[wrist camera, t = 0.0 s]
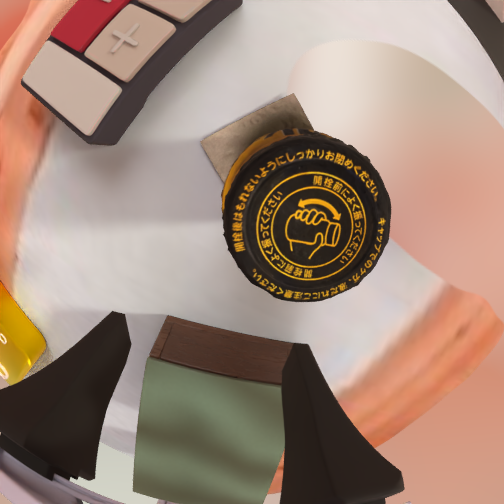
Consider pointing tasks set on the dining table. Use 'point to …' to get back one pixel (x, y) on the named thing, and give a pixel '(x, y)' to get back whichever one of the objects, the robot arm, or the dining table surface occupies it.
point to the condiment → (298, 204)
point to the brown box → (221, 351)
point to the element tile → (17, 340)
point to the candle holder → (485, 25)
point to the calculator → (115, 59)
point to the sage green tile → (206, 436)
